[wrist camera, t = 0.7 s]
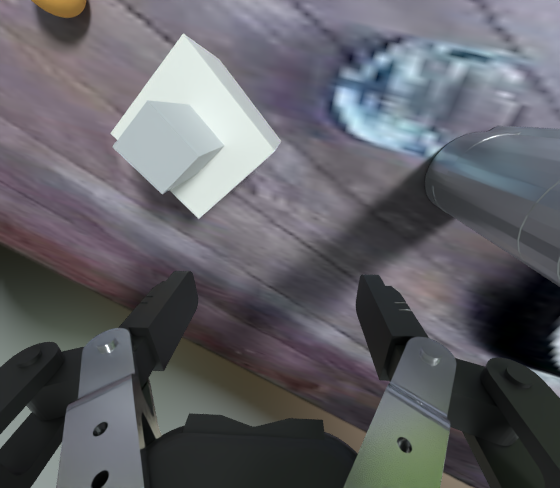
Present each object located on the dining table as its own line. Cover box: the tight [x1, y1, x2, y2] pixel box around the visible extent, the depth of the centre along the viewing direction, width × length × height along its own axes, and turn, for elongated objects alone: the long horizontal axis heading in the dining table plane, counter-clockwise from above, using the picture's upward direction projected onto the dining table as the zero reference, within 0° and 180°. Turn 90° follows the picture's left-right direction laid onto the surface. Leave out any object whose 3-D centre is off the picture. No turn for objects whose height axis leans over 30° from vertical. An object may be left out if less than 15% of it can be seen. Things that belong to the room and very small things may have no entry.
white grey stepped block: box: [111, 34, 281, 219], centre depth 21 cm, size 10×10×15 cm
